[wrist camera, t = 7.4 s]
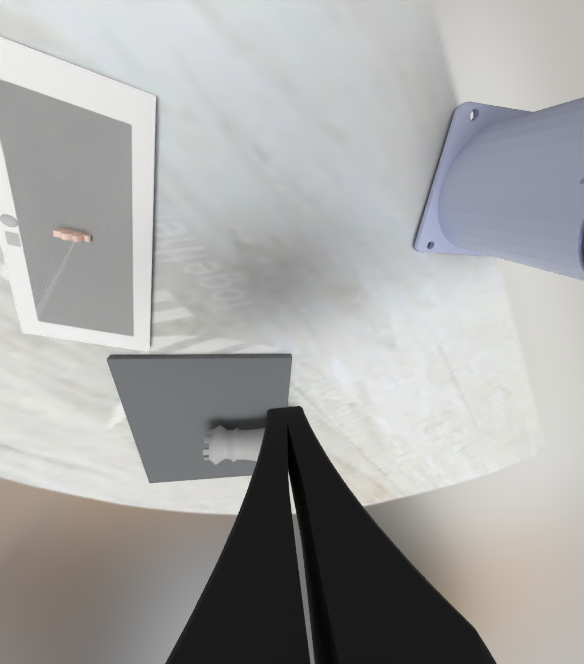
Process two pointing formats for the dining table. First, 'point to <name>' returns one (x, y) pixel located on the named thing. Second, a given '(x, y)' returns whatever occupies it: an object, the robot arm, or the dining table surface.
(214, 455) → the rook chess piece
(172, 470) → the mat
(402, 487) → the dining table surface
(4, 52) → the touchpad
